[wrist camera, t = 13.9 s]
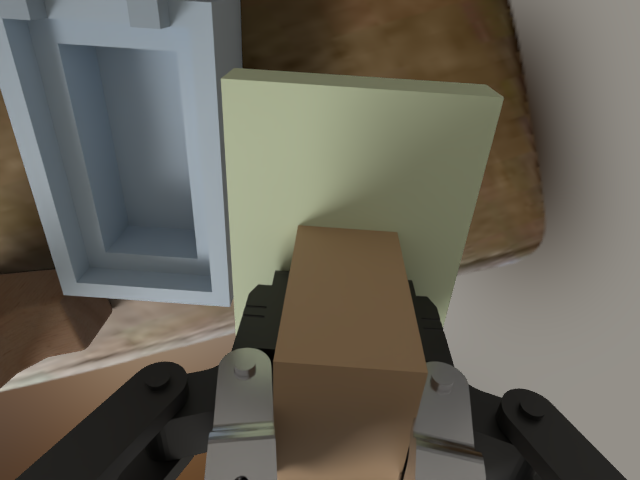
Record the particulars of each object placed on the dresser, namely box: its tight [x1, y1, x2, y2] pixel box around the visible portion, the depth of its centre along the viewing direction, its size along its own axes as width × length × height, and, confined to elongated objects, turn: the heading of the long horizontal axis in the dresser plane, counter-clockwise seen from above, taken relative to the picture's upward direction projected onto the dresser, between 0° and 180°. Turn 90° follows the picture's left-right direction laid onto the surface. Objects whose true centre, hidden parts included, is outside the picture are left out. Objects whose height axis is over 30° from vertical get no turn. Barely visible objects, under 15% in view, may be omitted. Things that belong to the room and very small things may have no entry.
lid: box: [221, 68, 504, 480], centre depth 13 cm, size 7×13×7 cm, turn 177°
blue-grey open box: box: [0, 0, 242, 307], centre depth 22 cm, size 10×22×7 cm, turn 177°
